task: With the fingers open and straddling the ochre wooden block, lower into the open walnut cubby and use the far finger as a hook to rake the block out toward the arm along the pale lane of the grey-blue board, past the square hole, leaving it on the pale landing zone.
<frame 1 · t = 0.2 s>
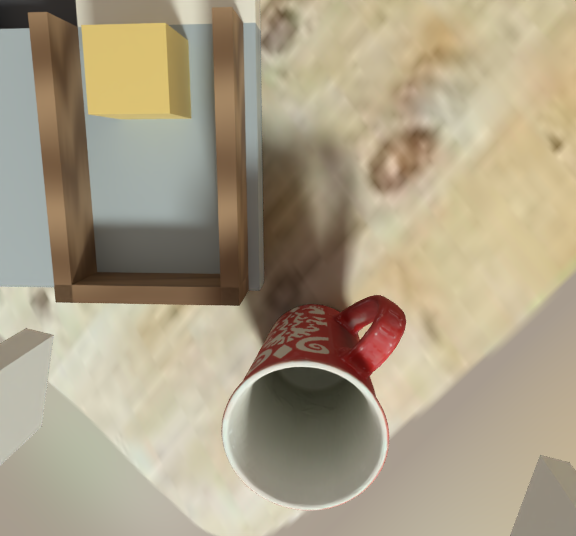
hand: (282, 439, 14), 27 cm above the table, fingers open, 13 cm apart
cubby: (148, 164, 36), on the board, point 4 cm above the table
mug: (329, 332, 42), on the table
board: (124, 93, 39), on the table
block: (153, 80, 37), point 2 cm above the table, touching board
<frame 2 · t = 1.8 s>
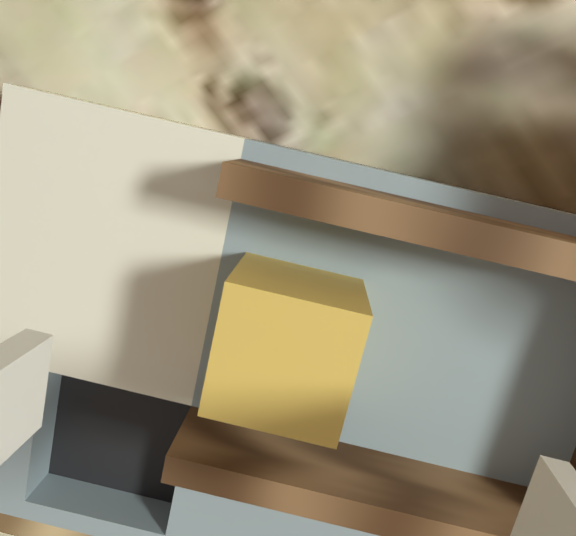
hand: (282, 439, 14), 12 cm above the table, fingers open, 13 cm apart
cubby: (425, 369, 21), on the board, point 4 cm above the table
board: (291, 364, 26), on the table
crook tool: (117, 528, 29), on the table
block: (291, 321, 23), point 2 cm above the table, touching board
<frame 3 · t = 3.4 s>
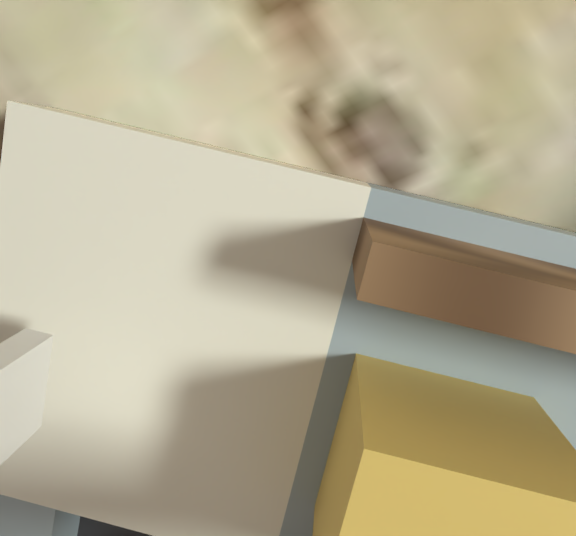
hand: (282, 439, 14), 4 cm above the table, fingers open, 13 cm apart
board: (405, 495, 19), on the table
block: (419, 454, 16), point 3 cm above the table, touching gripper
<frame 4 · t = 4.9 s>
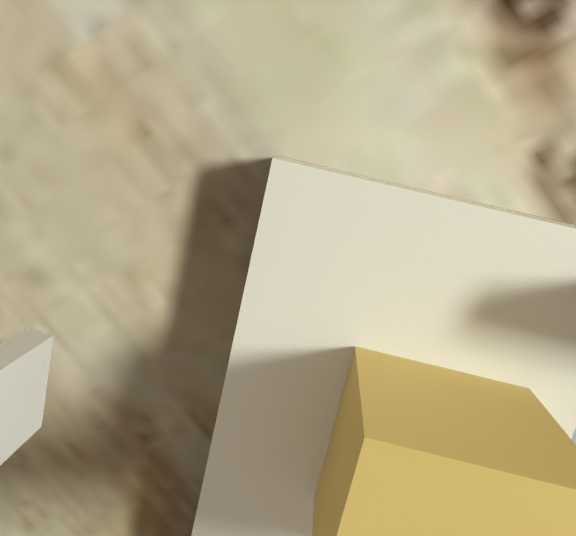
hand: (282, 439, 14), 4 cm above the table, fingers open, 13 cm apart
block: (417, 444, 16), point 2 cm above the table, touching board
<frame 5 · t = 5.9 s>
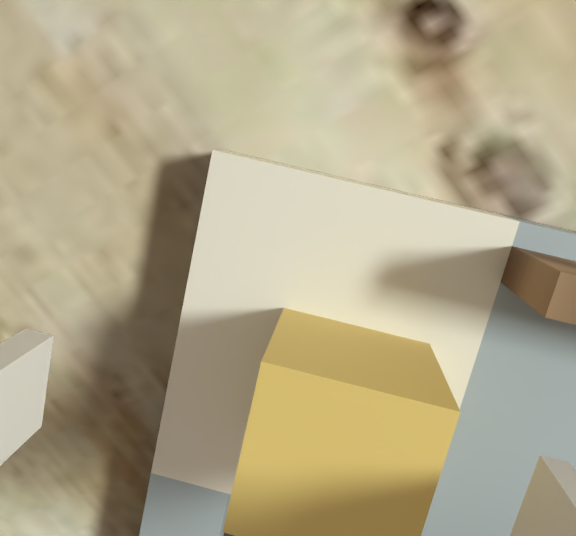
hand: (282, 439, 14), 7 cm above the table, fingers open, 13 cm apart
board: (521, 484, 21), on the table
block: (338, 392, 19), point 2 cm above the table, touching board
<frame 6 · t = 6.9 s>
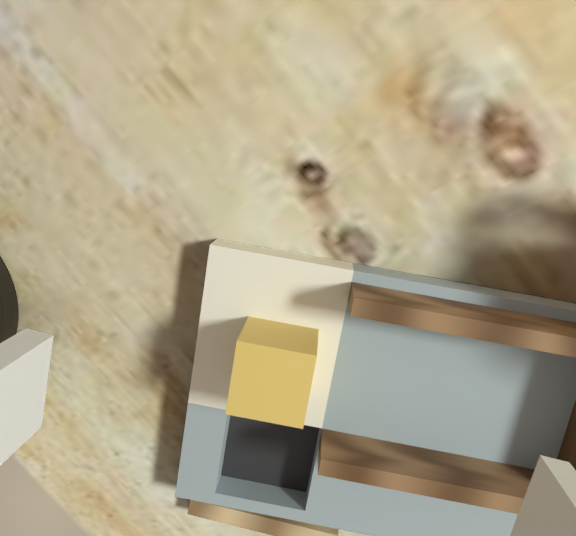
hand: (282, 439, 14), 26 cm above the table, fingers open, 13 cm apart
cubby: (468, 402, 36), on the board, point 4 cm above the table
board: (378, 398, 41), on the table
crook tool: (264, 513, 44), on the table
block: (277, 355, 39), point 2 cm above the table, touching board
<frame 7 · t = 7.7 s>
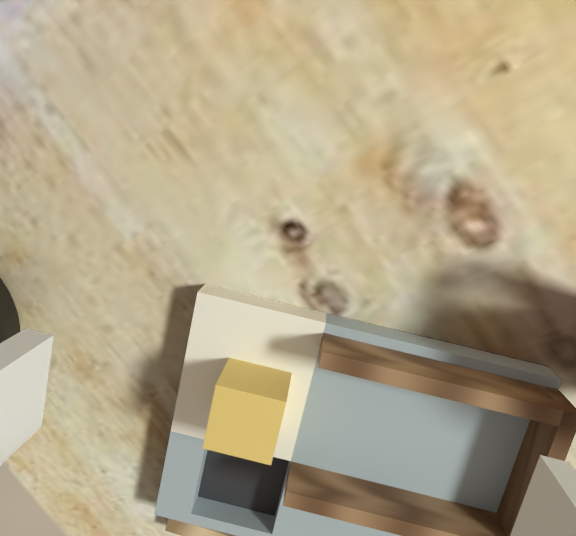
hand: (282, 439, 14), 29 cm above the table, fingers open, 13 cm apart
cubby: (421, 447, 40), on the board, point 4 cm above the table
board: (344, 435, 45), on the table
crook tool: (235, 533, 48), on the table
block: (254, 394, 43), point 2 cm above the table, touching board
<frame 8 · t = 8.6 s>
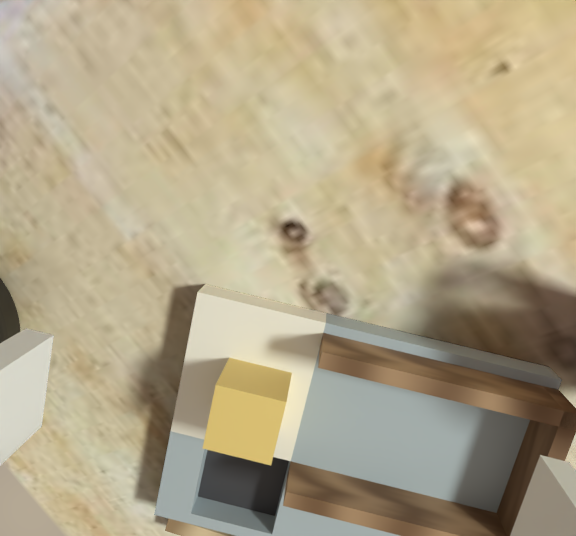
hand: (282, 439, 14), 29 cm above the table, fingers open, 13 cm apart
cubby: (421, 447, 40), on the board, point 4 cm above the table
board: (344, 435, 45), on the table
crook tool: (235, 533, 48), on the table
block: (254, 394, 43), point 2 cm above the table, touching board
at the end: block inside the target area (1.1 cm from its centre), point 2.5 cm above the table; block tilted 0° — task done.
